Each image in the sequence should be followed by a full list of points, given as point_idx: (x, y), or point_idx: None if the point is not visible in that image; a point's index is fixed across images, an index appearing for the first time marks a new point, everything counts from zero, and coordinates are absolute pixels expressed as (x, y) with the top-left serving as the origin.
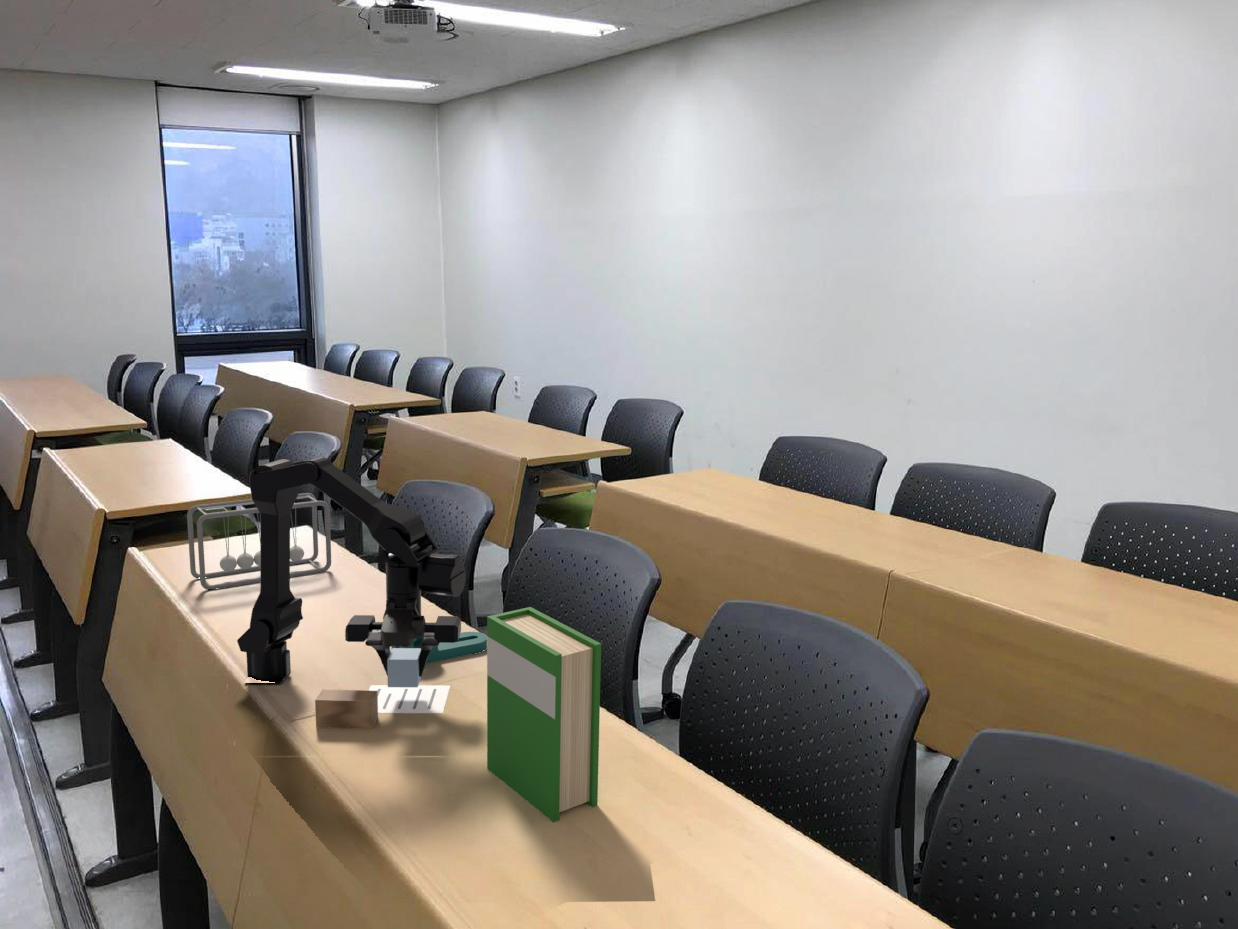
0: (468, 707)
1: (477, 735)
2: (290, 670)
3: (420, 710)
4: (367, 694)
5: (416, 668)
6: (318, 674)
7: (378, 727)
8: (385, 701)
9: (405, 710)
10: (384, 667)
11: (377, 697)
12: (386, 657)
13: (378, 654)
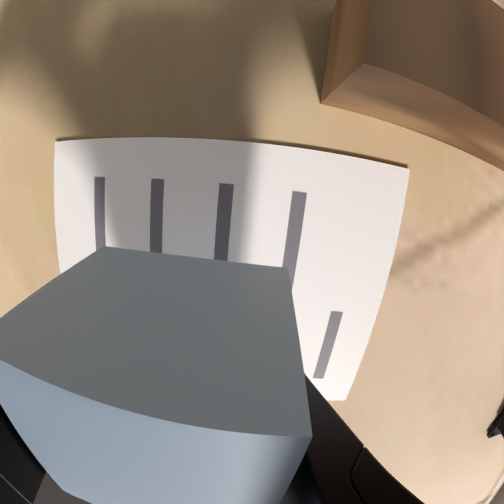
0: (3, 197)
1: (3, 25)
2: (497, 425)
3: (129, 162)
4: (421, 27)
5: (27, 300)
6: (451, 433)
7: (307, 23)
8: (295, 271)
9: (194, 166)
10: (322, 400)
11: (348, 74)
12: (314, 475)
13: (406, 492)
